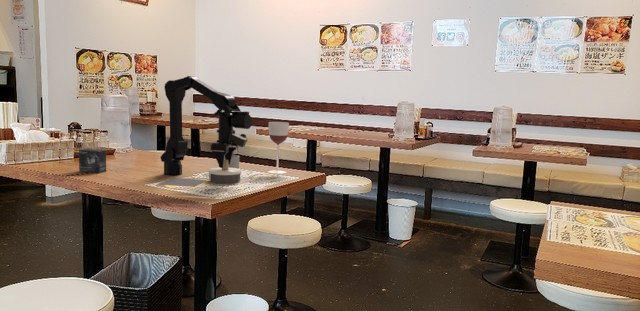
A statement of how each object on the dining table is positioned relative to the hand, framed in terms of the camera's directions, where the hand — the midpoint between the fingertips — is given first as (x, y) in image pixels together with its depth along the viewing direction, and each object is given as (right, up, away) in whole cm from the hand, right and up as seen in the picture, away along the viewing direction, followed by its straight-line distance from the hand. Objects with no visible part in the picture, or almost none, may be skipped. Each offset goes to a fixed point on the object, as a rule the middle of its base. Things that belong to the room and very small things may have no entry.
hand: (225, 166), depth 197 cm
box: (-58, -3, +11) cm, 60 cm away
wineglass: (+18, -4, +31) cm, 36 cm away
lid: (0, -3, 0) cm, 3 cm away
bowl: (0, -7, +1) cm, 7 cm away
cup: (-2, -5, +15) cm, 16 cm away
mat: (-15, -7, -5) cm, 17 cm away
